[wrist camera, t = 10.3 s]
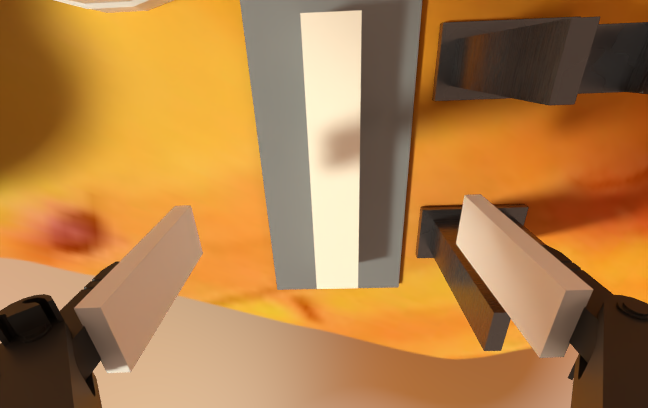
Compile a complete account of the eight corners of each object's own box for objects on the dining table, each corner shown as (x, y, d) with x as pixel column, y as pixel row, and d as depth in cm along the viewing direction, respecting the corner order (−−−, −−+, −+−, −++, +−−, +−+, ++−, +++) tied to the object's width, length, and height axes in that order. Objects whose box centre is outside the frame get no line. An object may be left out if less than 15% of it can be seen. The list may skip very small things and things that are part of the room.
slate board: (278, 286, 31) (277, 289, 30) (238, -29, 20) (236, -32, 19) (397, 283, 30) (398, 287, 30) (423, -39, 19) (425, -41, 19)
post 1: (432, 100, 23) (517, 131, 13) (440, 23, 21) (550, -15, 10) (553, 95, 23) (743, 123, 12) (574, 17, 21) (824, -28, 10)
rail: (318, 263, 29) (316, 288, 26) (304, 20, 21) (300, 13, 17) (354, 263, 29) (358, 288, 26) (356, 18, 20) (361, 10, 17)
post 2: (415, 254, 29) (464, 362, 19) (420, 207, 27) (479, 299, 16) (511, 252, 29) (615, 360, 18) (524, 204, 27) (650, 296, 16)
